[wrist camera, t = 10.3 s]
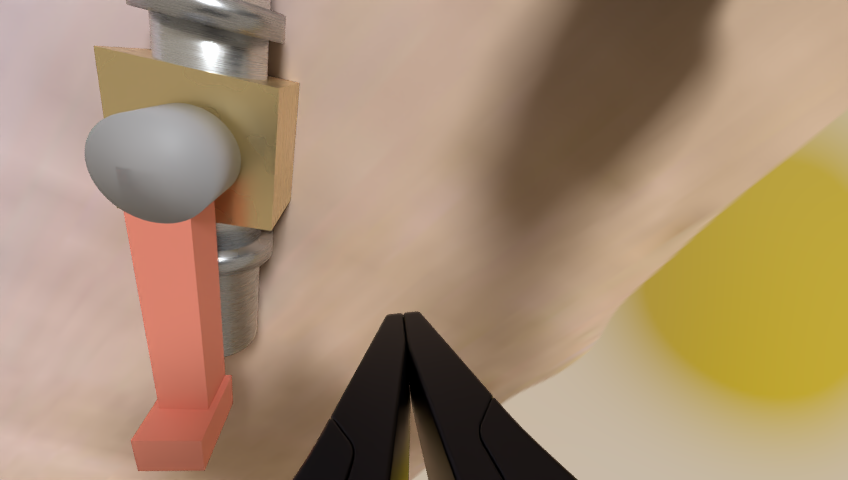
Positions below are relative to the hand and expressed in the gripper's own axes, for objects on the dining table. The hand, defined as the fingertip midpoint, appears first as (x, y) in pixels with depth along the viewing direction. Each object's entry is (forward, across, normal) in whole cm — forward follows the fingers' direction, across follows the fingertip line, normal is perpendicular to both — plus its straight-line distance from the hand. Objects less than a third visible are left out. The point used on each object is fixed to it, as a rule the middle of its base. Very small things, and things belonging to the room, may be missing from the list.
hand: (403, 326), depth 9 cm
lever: (+7, +9, +2) cm, 12 cm away
